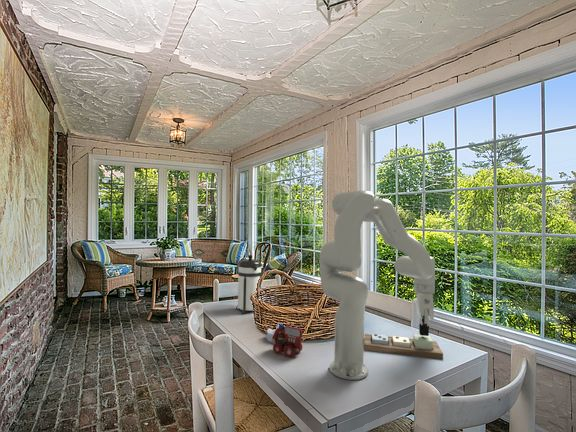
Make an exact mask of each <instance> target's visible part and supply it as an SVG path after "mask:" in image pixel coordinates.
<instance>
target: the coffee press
mask: <svg viewBox="0 0 576 432" xmlns="http://www.w3.org/2000/svg"><path fill="white" fill-rule="evenodd" d="M247 257H248V258H247V259H242V260H240V261H239V263H238V264H237V267H238V271H237V275H238V279H237V280H238V281H237V285H238V286H237V290H238V294H237V305H236V307H235V309H236V310H239V309H240V310H241V311H242V312H241V313H242V315H247V314H246V313H247V312H248V311H254V310H253V307H252V303H251V301H250V294H251V293H253V292H254V291H256V288H257V283H258V280H259V279H260V278H261V279H262V267H263V264H262V262H261V261H260V260H258V259H255V258H253V255H252V254H248V256H247ZM260 289H262V284H261V285H260Z"/></svg>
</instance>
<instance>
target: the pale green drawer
mask: <svg viewBox="0 0 576 432" xmlns="http://www.w3.org/2000/svg"><path fill="white" fill-rule="evenodd" d="M412 339H413V342H414V345H415V346H414V348H420V349H429V350H431V349H433V339H432V338H431V336H430V335H429V336H422V335H420V334H415V333H414V334H413V337H412Z"/></svg>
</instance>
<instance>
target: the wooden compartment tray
mask: <svg viewBox="0 0 576 432" xmlns="http://www.w3.org/2000/svg"><path fill="white" fill-rule="evenodd" d="M387 336H388V335H387ZM408 339H409V341H410V347H402V346H393V344H392V336H388V345H384V344H375V343H372V334H368V333H364V351H371V352H378V353H385V354H387V353H388V354H396V355H397V354H398V355H405V356H413V357H423V358H429V359H430V358H431V359H439V360H444V353H443V351H442V350H441V348H440V345H439V344H438V342H437V341H436V340H435V341H433V340H432V341H433V349H424V348H416V347H415V345H414V342H413V338H408Z"/></svg>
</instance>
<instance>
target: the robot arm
mask: <svg viewBox="0 0 576 432" xmlns="http://www.w3.org/2000/svg"><path fill="white" fill-rule="evenodd" d="M331 207H332V210H333V212H334V213H335V214H336V215H337V218H336V220H335V223H334V227H333V236H334V238H333V239H334V240H333V241H327V242H326V243H324V244H323V246H322V247H321V250H320V253H319V258H318V259H319V272H320V273H319V274H320V285H321V289H322V290H321V291H322V292H323V294H324V295H325V296H326V297H329V298H330V299H331V300H332V299H333V300H335V301H338V302H339V305H338V307H337V309H336V312H335V316H334V353H333V354H334V355H333V357H334V360H332V361H331V362H330V363H329V365H328V366H329V372H330V373H331V374H332V375H334V376H335V377H338V378H339V379H344V380H352V381H357V380H361V379H364V378H366V377H367V376H368V375H369V368H368V367H367V365H365V363H364V355H365V354H364V351H365V350H364V338H365V314H366V313H365V311H366V306H367V300H368V295H369V288H368V285H367V283H366V282H365V280H363V279H362V278H360V277H358V276H357V275H352V274H347V273H354V272H357V271H359V269H360V268H361V267H362V244H361V243H362V242H361V228H362V225H363V222H364V223H365V222H366V223H367V222H369V223H373V224H374V225H375V226H376V229H377V230H378V232H379V234H380V236H381V239H383V242H385V244H387V245H388V246H389V247H391V248H393V249H395V250H397V251H399V252H401V253H402V254H404V255H402V256H400V257H398V258H397V259H396V260H395V262H394V269H395V272H396V273H397V274H398V275H400V276H405V277H409V278H413V292H415V293H416V313H417V316H418V317H419V325H418V328H419V329H418V330H419V332H418V333H419V335H422V336H430V332H429V331H430V325H429V324H430V320H431V321H434V320H435V314H434V313H435V309H434V306H435V305H434V295H433V294H435V293H436V291H435V290H436V282H435V281H436V277H435V276H436V260H435V258H434V257H433V256H431V255H430V253H429V251H428V250H427V248H426V247H425V246H424V245H423V244H422V243H421V242H420V241H418V240H417V239H416V238H415V237H414V236H413V235H411V234H410V233H409V232H407V230H406V228H405V226H404V224H403V222H402V220H401V218H400V216H399V215H398V211H397V210H396V207H395V206H394V204H393V203H392V201H390V200H389V199H386V198H375V195H374V194H373V192H371V191H367V190H353V191H343V192H338V193H337V194H336V195H334V197H333V198H332V200H331ZM344 272H345V273H344ZM346 272H347V273H346Z"/></svg>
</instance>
